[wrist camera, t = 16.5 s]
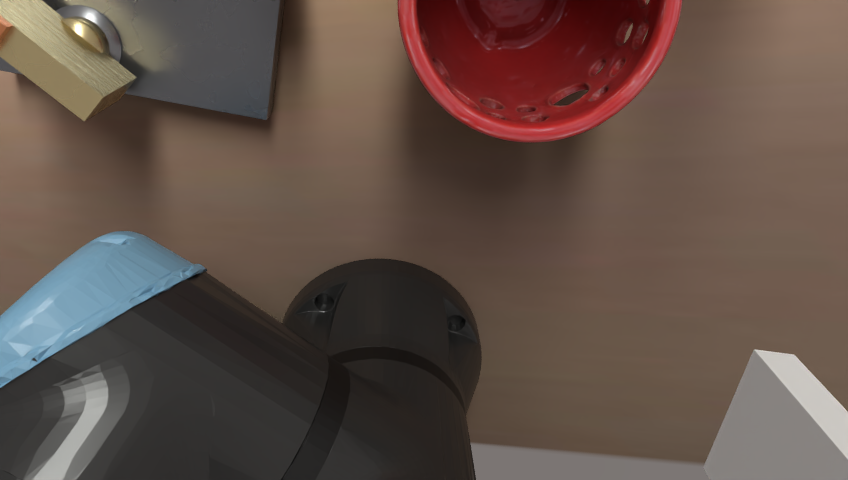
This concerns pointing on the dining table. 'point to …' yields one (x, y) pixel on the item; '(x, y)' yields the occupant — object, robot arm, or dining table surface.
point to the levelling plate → (191, 49)
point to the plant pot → (535, 60)
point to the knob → (62, 56)
